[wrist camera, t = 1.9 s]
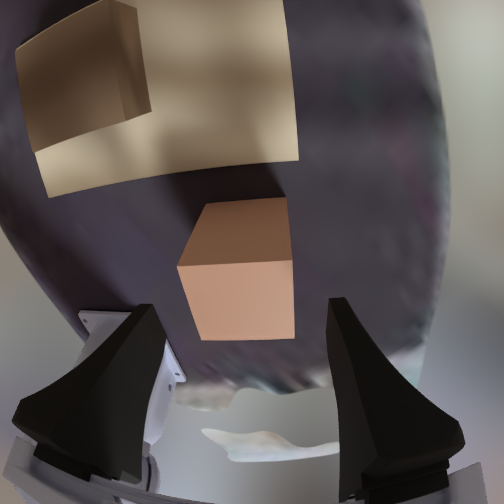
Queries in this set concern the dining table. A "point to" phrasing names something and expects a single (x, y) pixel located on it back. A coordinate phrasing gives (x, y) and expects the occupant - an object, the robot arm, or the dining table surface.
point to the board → (192, 98)
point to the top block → (240, 271)
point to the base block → (83, 74)
